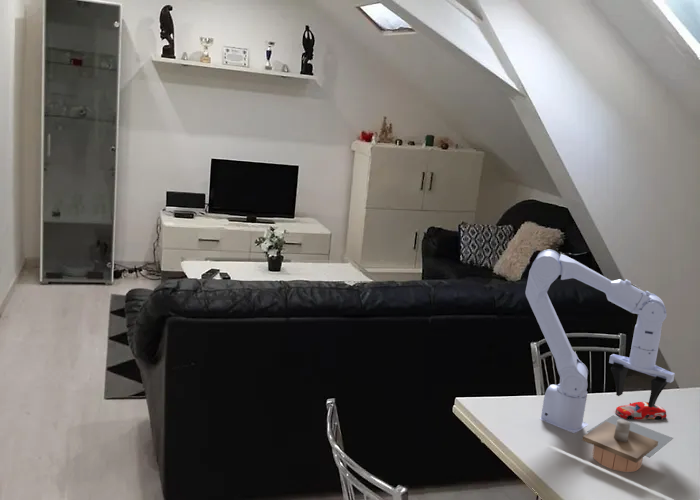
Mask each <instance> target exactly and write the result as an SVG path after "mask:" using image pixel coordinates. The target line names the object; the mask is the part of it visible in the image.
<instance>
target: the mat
mask: <svg viewBox="0 0 700 500" xmlns="http://www.w3.org/2000/svg"><path fill="white" fill-rule="evenodd" d="M619 419H622V420H626V421H628V422H630V429H629V430H630V431H632V432H635V433H637V434H640V435H643V436H645V437H648V438H650V439H653V440H655V441H658V445H657V446H656V447H655V448H654V449H653V450H651V451H650V452H649V453H648V454H647V455H645V456H644V457H646V458H647V457H648V458H651V457H652V456H654V454H655V453H657V452H659V450H660V449H662V448H663V447H664V446H666V445H667V444H668V443H669V442H671V441H672V440H673V439H674V438H673V437H671V436H669V435H666V434H664V433H661V432H659V431H655V430H654V429H650V428H648V427H646V426H643V425H640V424H637V423H635V422H633V421H629V420H628V419H624V418H622V417H619V416H617V415H611V416H610V417H608V418H606V419H604V421H602V422H599V423H598V424H597V425H595V426H594V427H592V428H591V429H589V430H587V431H586V432H587V433H589V432H590V431H592V430H593V429H595V428H597V427H598V426H600V425H601V424H603V423H604V422H609V423H612V424H614V425H616V423H617V420H619Z"/></svg>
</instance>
